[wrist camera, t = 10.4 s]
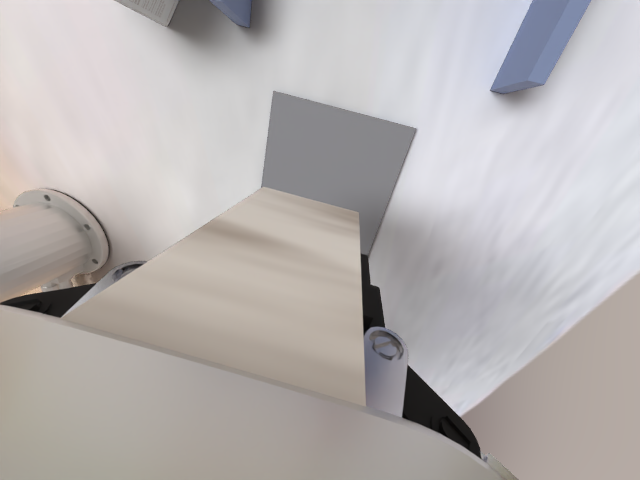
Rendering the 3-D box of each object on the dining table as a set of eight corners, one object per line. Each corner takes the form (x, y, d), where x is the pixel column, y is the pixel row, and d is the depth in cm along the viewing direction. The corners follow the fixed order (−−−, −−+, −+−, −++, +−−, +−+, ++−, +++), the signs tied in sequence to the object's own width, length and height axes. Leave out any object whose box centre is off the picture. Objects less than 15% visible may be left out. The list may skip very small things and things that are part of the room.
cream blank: (333, 289, 14) (296, 565, 5) (253, 266, 14) (81, 501, 5) (358, 212, 12) (368, 464, 3) (263, 186, 12) (0, 357, 3)
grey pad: (365, 258, 30) (366, 260, 29) (257, 228, 30) (255, 230, 29) (415, 128, 23) (416, 128, 22) (274, 91, 23) (273, 90, 23)
